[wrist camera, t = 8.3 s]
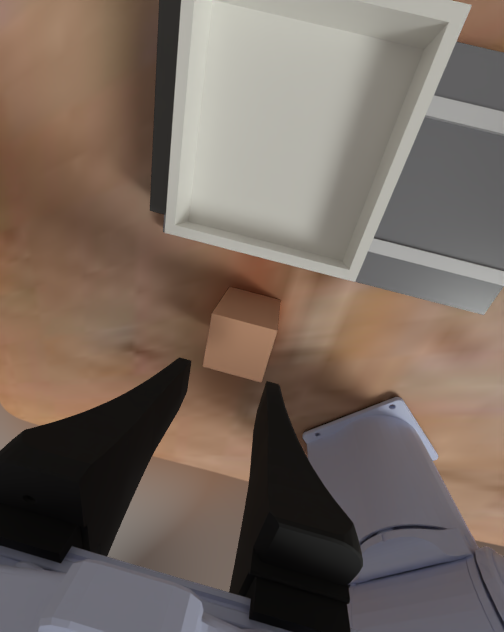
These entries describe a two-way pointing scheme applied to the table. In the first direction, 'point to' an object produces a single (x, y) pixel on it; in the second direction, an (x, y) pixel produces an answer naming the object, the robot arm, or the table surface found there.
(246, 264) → the table surface
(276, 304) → the block
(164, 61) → the track
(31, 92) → the table surface
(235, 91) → the white shallow tray
